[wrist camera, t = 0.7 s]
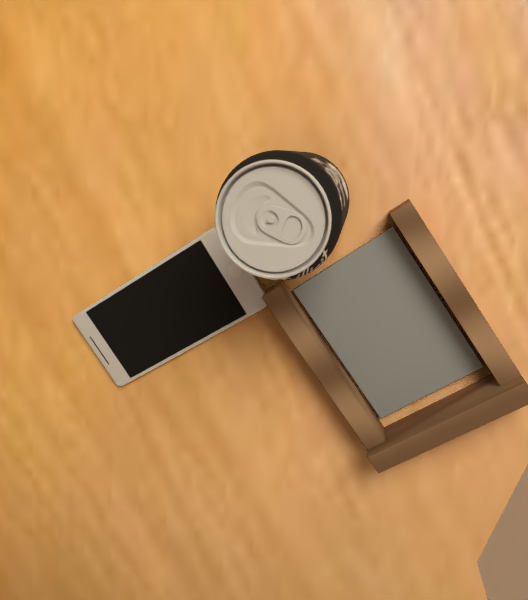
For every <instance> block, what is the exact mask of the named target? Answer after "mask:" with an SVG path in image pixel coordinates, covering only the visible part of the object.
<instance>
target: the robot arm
mask: <svg viewBox="0 0 528 600" xmlns="http://www.w3.org/2000/svg"><path fill="white" fill-rule="evenodd" d="M477 563H478V566H479V570H480V574H481V577H482V581H483V584H484V588H485V591H486V595H487V598H488V600H528V465H527V467H526V469H525V470H524V472H523V474H522V476H521V478H520V480H519V482H518V484H517V486H516V488H515V490H514V492H513V494H512V495H511V497H510V499H509V501H508V503H507V505H506V507H505V509H504V511H503V513H502V515H501V517H500V519H499V521H498V522H497V524H496V526H495V528H494V530H493V532H492V534H491V536H490V538H489V540H488V542H487V544H486V546H485V547H484V549H483V551H482V553H481V555H480V557H479V559H478V561H477Z"/></svg>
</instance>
